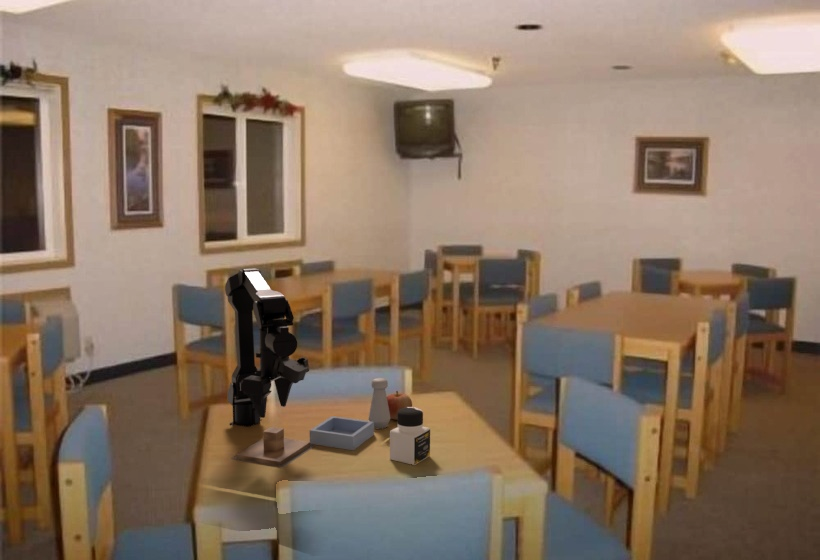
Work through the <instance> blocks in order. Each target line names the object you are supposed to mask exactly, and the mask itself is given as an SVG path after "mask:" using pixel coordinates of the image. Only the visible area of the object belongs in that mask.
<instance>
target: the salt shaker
mask: <svg viewBox="0 0 820 560" xmlns="http://www.w3.org/2000/svg"><path fill="white" fill-rule="evenodd" d="M370 384H371V387H372V389H373V391H372V395H371V396H372V398H371V402H370V403H371V404H370V407H369V413H368V421H372V422H374V429H376V428H377V429H378V430H379V429H380V430H383V429H386V427H388V425H389V423H390V421H391V417H390V412H389V407H388V402H387V396H388V395H387V391H386V389H387V388H388V385H389V382H388V380H387V378H383V377H376V378H374V379H372V380H371V383H370ZM382 428H383V429H382Z"/></svg>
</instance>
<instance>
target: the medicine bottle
mask: <svg viewBox="0 0 820 560" xmlns="http://www.w3.org/2000/svg"><path fill="white" fill-rule="evenodd" d="M396 421H397V424H396V425H397V427H395V428H393V429H391V430H390V431H389V460H392V461H396V462H399V463H404V464H409V465H411V464H412V466H416V465H417V464H419V463H421V462H423V461H424V460H426V459H427V458H429V457H430V455H431V428H430V427H428V426H427V427H426V426H424V412H423V410H422V409H420V408H418V407H415V406H414V407H413V406H412V407H405V408H402V409H400V410H399V411H398V412H397V420H396Z"/></svg>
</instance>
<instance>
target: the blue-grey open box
mask: <svg viewBox="0 0 820 560" xmlns="http://www.w3.org/2000/svg"><path fill="white" fill-rule="evenodd" d="M373 436H375V428H374V422H372V421H369V420H364V419H357V418H349V417H343V416H335V415H331V416H330V417H328V418H327V419H325V420H323V421H322V422H320V423H319V424H317V425H316V426H314V427H312V428H311V429H309V442H310V445H318V446H324V447H329V448H337V449H342V450H348V451H355V450H356V449H357V448H358V447H360V446H362V444H364V443H365V442H366V441H368V440H369V439H371V437H373Z"/></svg>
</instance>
